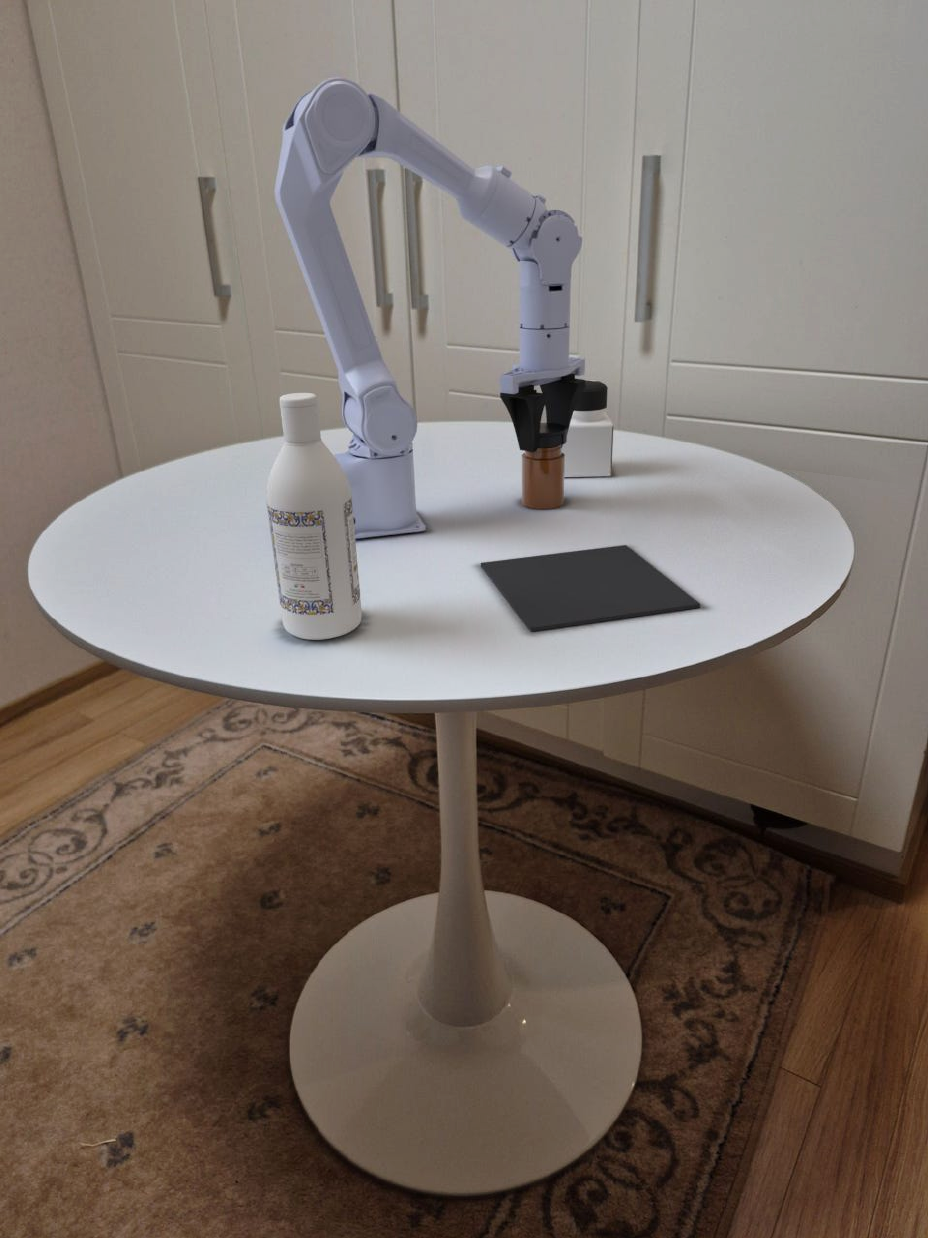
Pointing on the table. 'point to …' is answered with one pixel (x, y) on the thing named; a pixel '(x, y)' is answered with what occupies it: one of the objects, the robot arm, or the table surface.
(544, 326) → the robot arm
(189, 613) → the table surface
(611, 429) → the medicine bottle
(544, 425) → the jar lid
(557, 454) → the jar
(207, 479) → the table surface
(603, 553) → the mat
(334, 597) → the bath foam
